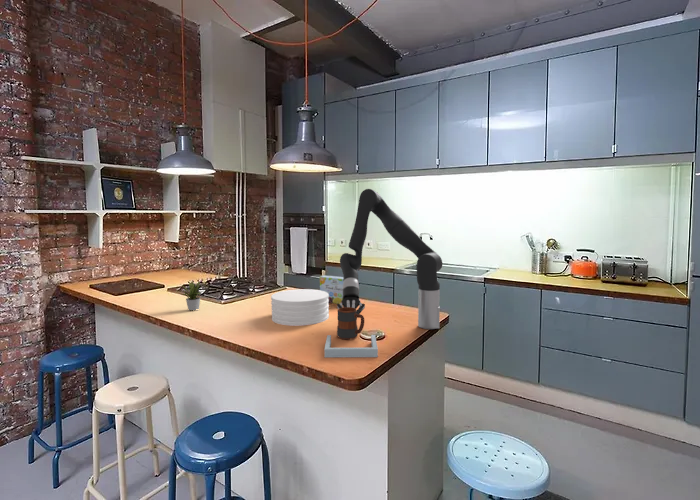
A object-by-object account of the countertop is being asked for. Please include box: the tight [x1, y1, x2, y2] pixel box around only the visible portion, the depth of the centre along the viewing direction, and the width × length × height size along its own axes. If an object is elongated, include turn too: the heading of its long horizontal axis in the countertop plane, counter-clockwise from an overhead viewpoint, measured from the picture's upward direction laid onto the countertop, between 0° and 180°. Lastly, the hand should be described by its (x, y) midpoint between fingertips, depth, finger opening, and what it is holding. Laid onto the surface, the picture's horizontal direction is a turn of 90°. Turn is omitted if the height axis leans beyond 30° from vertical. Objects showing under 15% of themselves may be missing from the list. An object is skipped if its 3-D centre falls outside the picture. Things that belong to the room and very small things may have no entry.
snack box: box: [319, 274, 343, 305], centre depth 215 cm, size 21×6×15 cm, turn 62°
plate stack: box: [270, 288, 330, 327], centre depth 186 cm, size 28×28×12 cm
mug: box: [336, 306, 365, 341], centre depth 155 cm, size 9×12×12 cm
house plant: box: [179, 280, 206, 311], centre depth 201 cm, size 14×14×16 cm
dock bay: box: [324, 334, 379, 358], centre depth 142 cm, size 19×16×3 cm
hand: (351, 323), depth 161 cm, fingers closed
